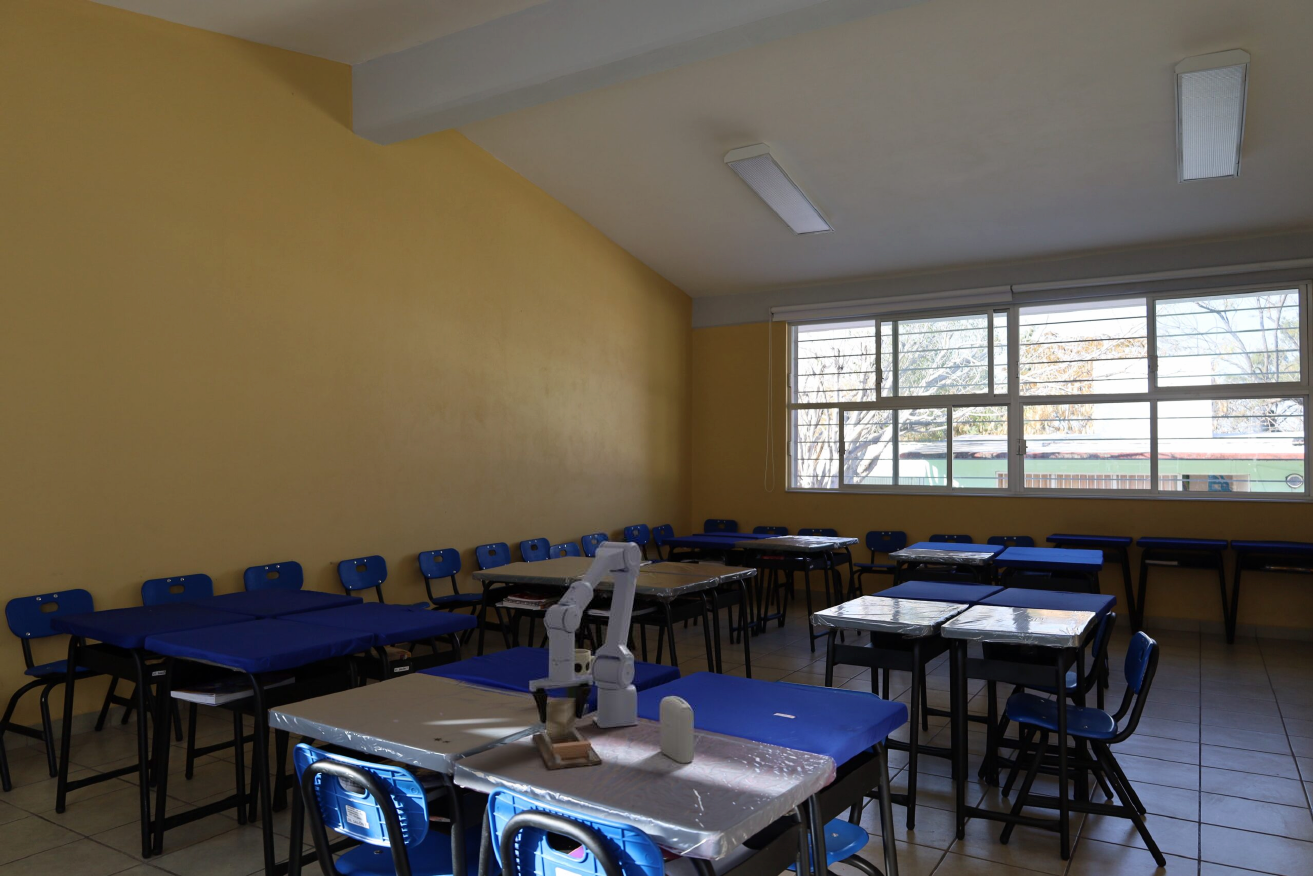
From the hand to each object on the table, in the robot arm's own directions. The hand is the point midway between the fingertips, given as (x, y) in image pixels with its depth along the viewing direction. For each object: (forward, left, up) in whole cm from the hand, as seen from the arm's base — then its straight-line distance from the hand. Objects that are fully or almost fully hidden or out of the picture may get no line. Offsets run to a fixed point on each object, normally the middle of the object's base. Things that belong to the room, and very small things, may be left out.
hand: (561, 720), depth 181 cm
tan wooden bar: (0, +11, -5) cm, 13 cm away
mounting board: (0, +5, -5) cm, 7 cm away
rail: (0, +5, -5) cm, 7 cm away
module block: (0, 0, -2) cm, 2 cm away
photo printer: (-22, +16, -5) cm, 28 cm away
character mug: (-11, -36, -5) cm, 38 cm away
